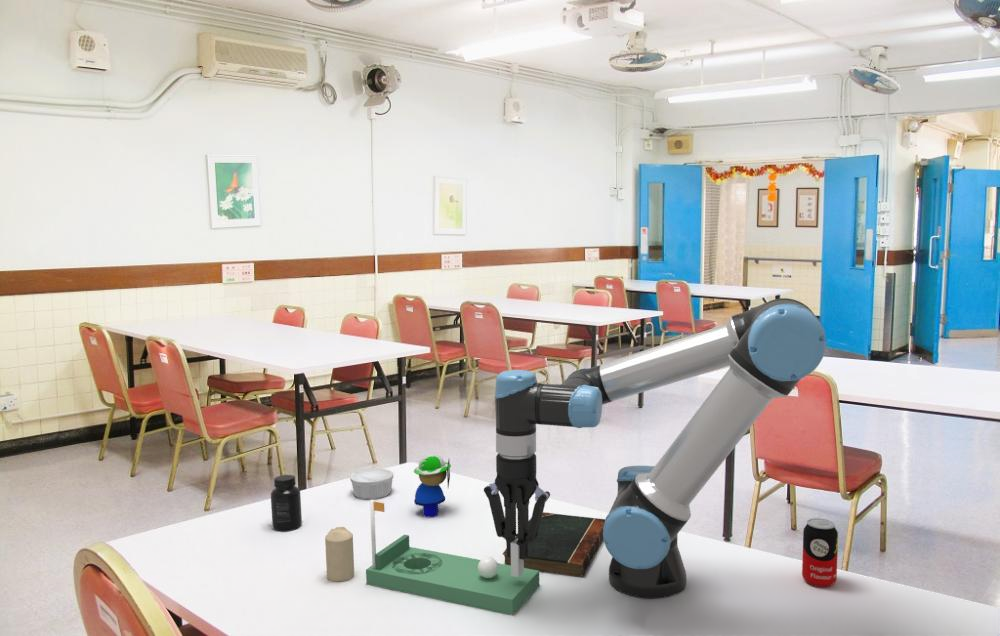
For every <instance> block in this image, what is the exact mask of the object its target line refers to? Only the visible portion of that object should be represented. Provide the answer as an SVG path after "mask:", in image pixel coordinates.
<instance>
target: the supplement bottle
mask: <svg viewBox="0 0 1000 636" xmlns="http://www.w3.org/2000/svg"><path fill="white" fill-rule="evenodd" d="M273 481H274V482H273V486H274V489H272V490H271V493H270V503H271V504H270V506H271V520H272V521H271V523H272V528H273V529H274V530H276V531H279V532H287V531H293V530H296V529H298V528H300V527H301V526H302V523H303V519H302V515H303V514H302V501H301V499H302V498H301V497H302V496H301V490H300V488H299V487H297V486H296V483H297V482H296V476H295V475H294V474H282V475H278V476H275V478H273Z"/></svg>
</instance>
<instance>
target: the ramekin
mask: <svg viewBox="0 0 1000 636" xmlns="http://www.w3.org/2000/svg"><path fill="white" fill-rule="evenodd" d="M393 479H394V472H393V471H391V470H389V469H386V468H366V469H362V470H358V471H356V472H353V473H352V474H351V475H350V479H349V480H350V482H351V485H352V486H351V487H352V490H353V493H354V495H355V496H356V497H357V498H358V499H362V500H378V499H382V498H385V497H387V496H388V495H390V494H391V491H392V486H393Z"/></svg>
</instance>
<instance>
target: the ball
mask: <svg viewBox="0 0 1000 636" xmlns="http://www.w3.org/2000/svg"><path fill="white" fill-rule="evenodd" d="M479 560H480V562H479V564H478V571H479V573H480V575H481V576H482V577H484V578H492V577H494V576H495V575H496V574H497V572H498V563H499V562H498V561H497V560H496V558H494V557H491V556H485V557H483V558H481V559H479Z"/></svg>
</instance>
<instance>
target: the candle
mask: <svg viewBox="0 0 1000 636" xmlns="http://www.w3.org/2000/svg"><path fill="white" fill-rule="evenodd" d="M353 535H354V534H353V533H352V532H351V531H350V530H349V529H347V528H346V527H345V526H336V527H335V528H331V529H330V530H329V532H328V533H327V534H326V535H325V537H324V540H325V541H324V543H325V544H324V545H325V560H326V561H325V564H326V578H327V579H328V581H331V582H337V583H339V582H345V581H349V580H351V579H352V578H353V577H354V575H355V559H354V557H355V555H354V538H353Z"/></svg>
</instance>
